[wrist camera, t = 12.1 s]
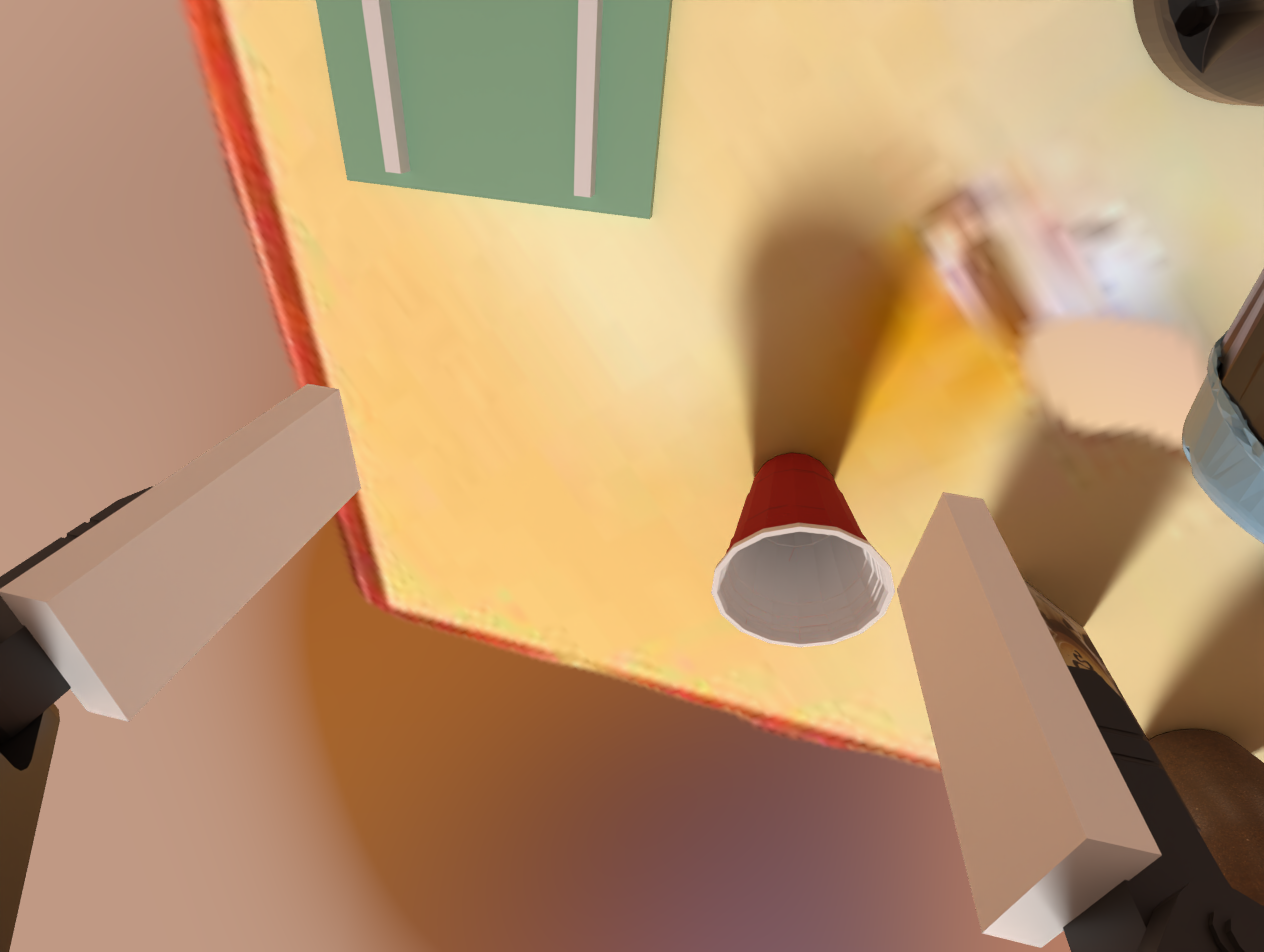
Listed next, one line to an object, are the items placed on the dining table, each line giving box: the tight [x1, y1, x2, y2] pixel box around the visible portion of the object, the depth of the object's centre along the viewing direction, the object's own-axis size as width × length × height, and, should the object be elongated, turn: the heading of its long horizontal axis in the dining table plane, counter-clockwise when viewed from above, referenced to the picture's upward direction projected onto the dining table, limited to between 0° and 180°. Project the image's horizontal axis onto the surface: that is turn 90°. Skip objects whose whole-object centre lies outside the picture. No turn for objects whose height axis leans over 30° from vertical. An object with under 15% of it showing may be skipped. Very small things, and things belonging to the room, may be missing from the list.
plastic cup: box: [711, 453, 895, 647], centre depth 41 cm, size 11×11×12 cm
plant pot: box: [1149, 729, 1264, 906], centre depth 47 cm, size 15×15×16 cm
